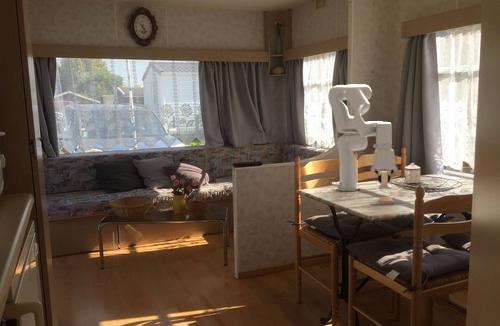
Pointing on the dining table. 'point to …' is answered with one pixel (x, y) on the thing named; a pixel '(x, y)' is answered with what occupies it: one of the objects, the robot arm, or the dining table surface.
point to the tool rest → (401, 194)
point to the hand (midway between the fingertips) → (384, 182)
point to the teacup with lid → (412, 174)
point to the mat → (387, 204)
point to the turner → (384, 181)
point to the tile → (386, 200)
